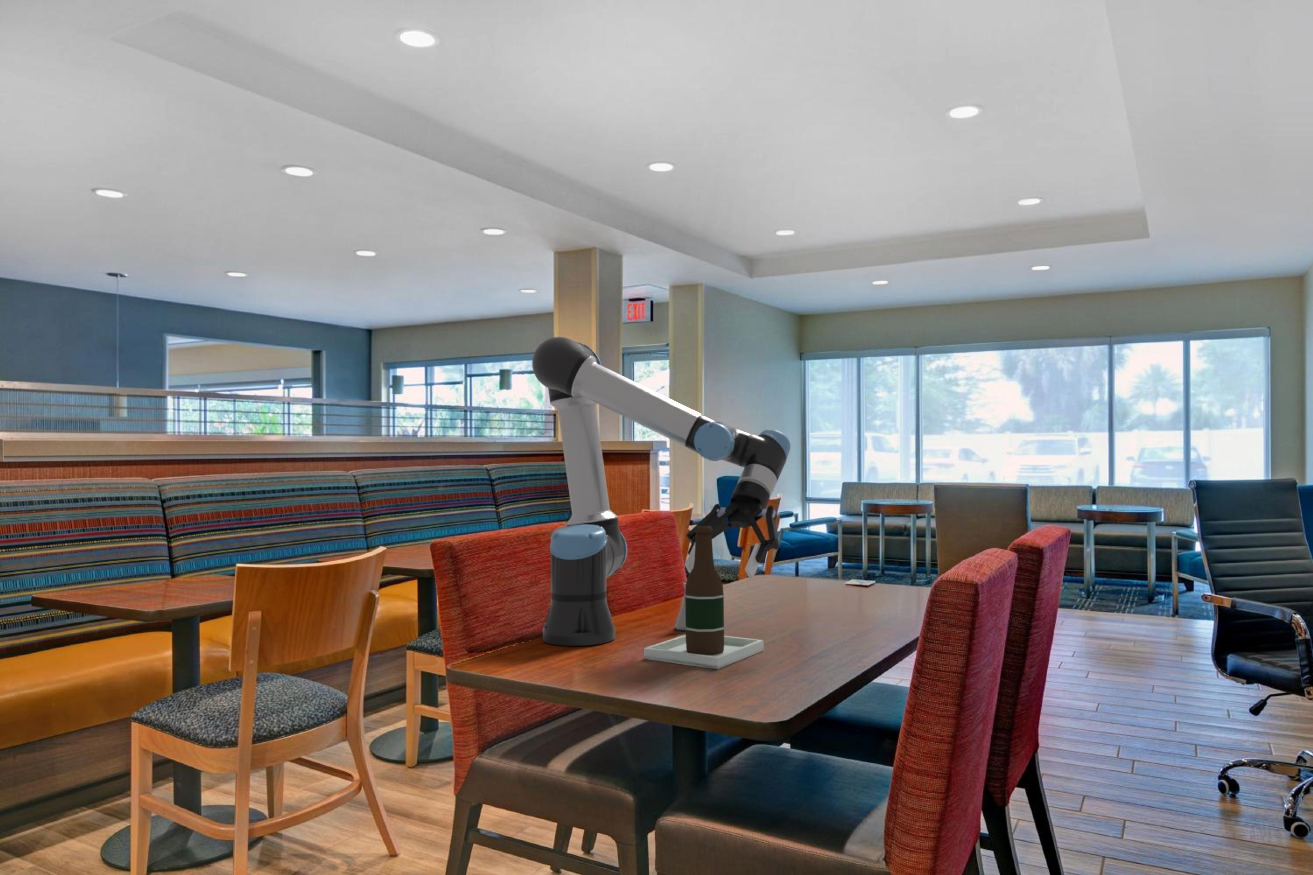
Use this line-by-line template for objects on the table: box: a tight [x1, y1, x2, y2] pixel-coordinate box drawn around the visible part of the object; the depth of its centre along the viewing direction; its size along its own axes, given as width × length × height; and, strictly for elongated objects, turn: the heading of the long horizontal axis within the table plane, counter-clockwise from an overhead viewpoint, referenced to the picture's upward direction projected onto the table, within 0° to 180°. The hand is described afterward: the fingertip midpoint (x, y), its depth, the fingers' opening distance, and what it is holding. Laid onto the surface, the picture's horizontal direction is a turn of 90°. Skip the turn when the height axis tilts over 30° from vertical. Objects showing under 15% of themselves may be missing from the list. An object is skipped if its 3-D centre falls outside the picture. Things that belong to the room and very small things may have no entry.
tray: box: [643, 634, 765, 670], centre depth 172 cm, size 16×18×2 cm
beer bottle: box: [684, 526, 725, 655], centre depth 172 cm, size 8×8×24 cm
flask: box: [674, 582, 686, 631], centre depth 198 cm, size 7×7×10 cm
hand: (718, 571), depth 174 cm, fingers open, 13 cm apart
